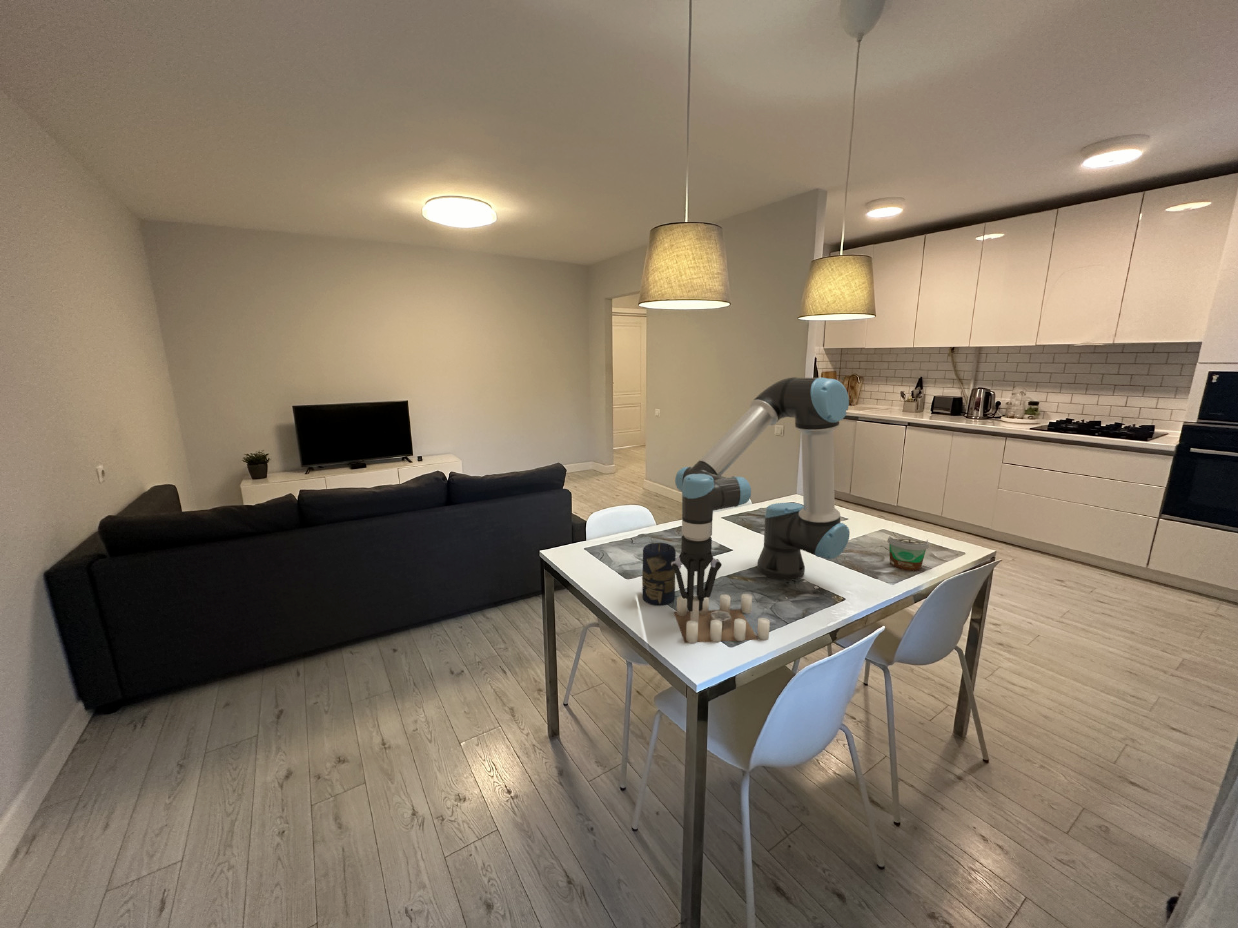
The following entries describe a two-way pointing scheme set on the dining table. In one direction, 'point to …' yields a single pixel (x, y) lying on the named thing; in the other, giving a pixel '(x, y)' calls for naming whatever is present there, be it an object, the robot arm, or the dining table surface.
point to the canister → (658, 574)
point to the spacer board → (705, 626)
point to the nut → (721, 618)
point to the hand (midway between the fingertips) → (694, 621)
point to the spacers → (717, 624)
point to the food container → (907, 553)
